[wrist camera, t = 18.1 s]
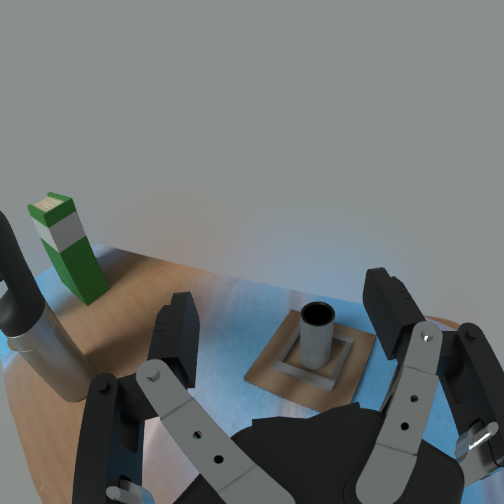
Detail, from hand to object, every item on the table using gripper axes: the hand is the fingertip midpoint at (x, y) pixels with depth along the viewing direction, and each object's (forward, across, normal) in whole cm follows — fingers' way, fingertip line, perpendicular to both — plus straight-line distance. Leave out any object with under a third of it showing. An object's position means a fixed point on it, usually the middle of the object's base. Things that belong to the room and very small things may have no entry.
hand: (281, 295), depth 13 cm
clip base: (+16, -6, +30) cm, 34 cm away
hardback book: (+42, +46, +30) cm, 69 cm away
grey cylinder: (+15, -6, +29) cm, 34 cm away
